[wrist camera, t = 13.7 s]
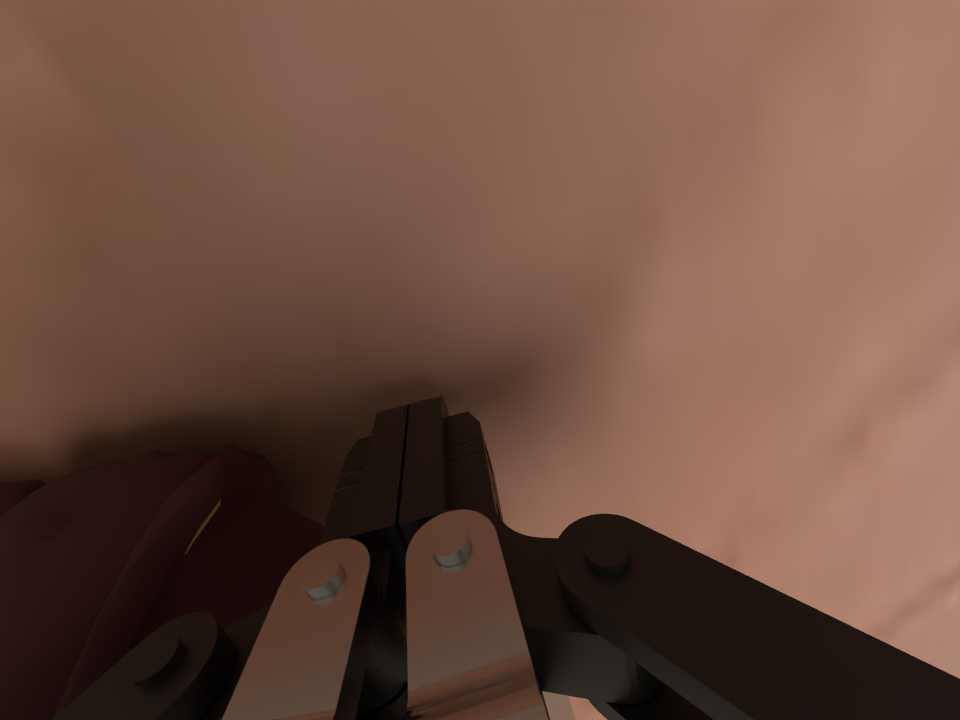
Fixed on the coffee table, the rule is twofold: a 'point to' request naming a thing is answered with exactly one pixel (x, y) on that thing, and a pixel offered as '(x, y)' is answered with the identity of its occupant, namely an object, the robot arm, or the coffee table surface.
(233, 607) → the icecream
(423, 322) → the coffee table surface
